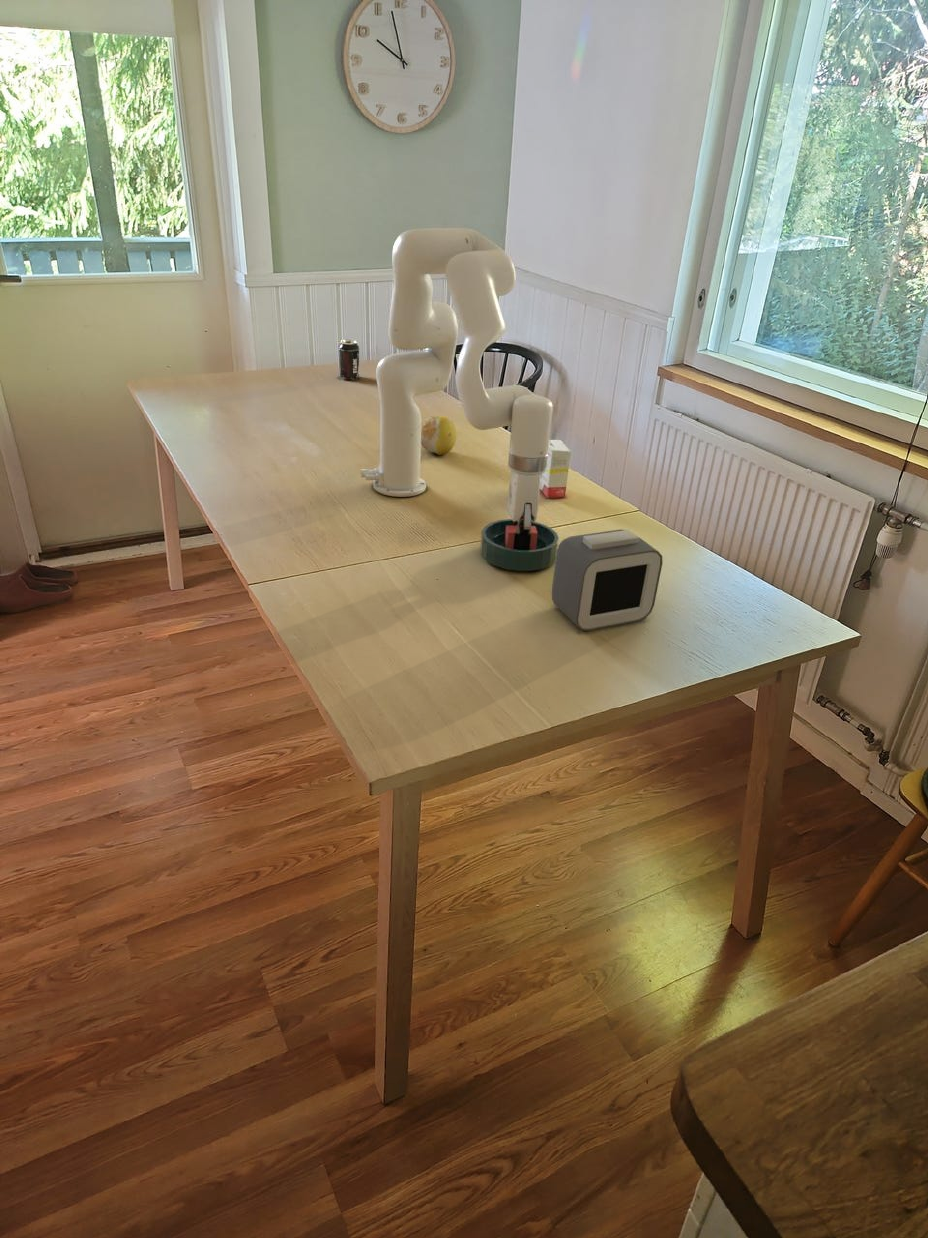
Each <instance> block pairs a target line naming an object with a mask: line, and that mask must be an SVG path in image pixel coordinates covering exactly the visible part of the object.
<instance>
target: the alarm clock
mask: <svg viewBox="0 0 928 1238" xmlns="http://www.w3.org/2000/svg"><path fill="white" fill-rule="evenodd" d="M662 569H663V555H662V554H661V553H660V551H658V550H657V549H656V548H655V547H653V546H652V545H650V544H649V543H648V542H647V541H645V540H644V539H642V538H641V537H640V536H638V535H637V534H636V533H634V532H633V531H631V530H630V529H614V530H606V531H599V532H592V533H586V534H578V535H573V536H572V535H570V536H568V537H566V538H564V539H563V540H561V541H560V543H558V548H557V553H556V559H555V562H554V569H553V577H552V585H551V593H550V594H551V600H552V602H553V604H554V605H555V606H556V607H557V608H558V610H560V611H561V612H562V613H563V614H564V615H565V616H566V617H567V618H568V620H570V621H571V622H572V623H573V624H574V625H575V626H576V627H577V628H578V629H580V630H581V631H583V632H592V631H596V630H602V629H607V628H612V627H617V626H622V625H627V624H632V623H638V622H641V621H643V620H645V619H646V618H647V617H649V615H651V613H652V611H653V610H654V607H655V602H656V598H657V593H658V587H659V582H660V578H661V574H662Z"/></svg>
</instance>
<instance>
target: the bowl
mask: <svg viewBox="0 0 928 1238" xmlns="http://www.w3.org/2000/svg"><path fill="white" fill-rule="evenodd" d="M512 524H513V521H512V519H511V518H506V519H499V520H495V521H492V522H489V523H488V524H486V525H485V526H484V527H483V528H482V530H481V533H480V547H479V551H480V556H481V557H483V559H484V560H485V561H486V562H488V563H490V564H491V565H494V566H496V567H498V568H502V569H505V570H509V571H517V572H531V571H538V570H539V571H540V570H543V569H545V568H548V567H550V566H552V564H555V561H556V553H557V549H558V546H559V540H560V538H559V534H558V533H557V532H556V531H555V530H553V528H552V527H549V526H547V525H546V524H544V523H540V522H537V521H535V522H532V523H531V526H535V527H536V530H537V533H538V534H537V544H536V550H515V549H509V548H506V546H505V534H506V526H512Z"/></svg>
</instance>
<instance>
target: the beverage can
mask: <svg viewBox="0 0 928 1238" xmlns="http://www.w3.org/2000/svg"><path fill="white" fill-rule="evenodd" d="M339 341H340V342H339V344H338V346H337V348H338V349H337V351H338V353H337V354H338V377H339V378H341V379H342V380H345V381H353V380H357V379H358V378H359V377H360V346H359V344H358V341H357V340H355V339H341V340H339Z"/></svg>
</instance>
